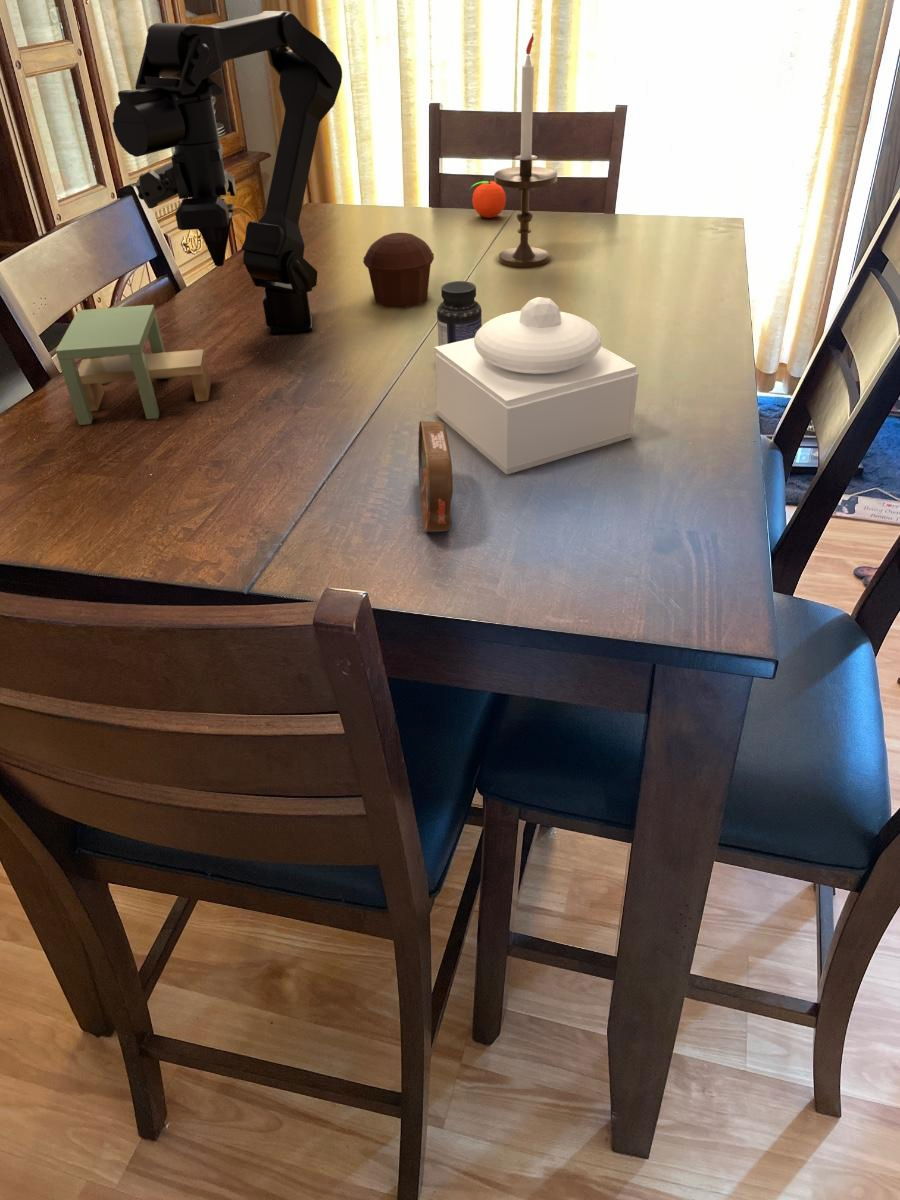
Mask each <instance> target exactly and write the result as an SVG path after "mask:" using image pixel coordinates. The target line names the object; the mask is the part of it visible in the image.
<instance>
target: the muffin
mask: <svg viewBox="0 0 900 1200" xmlns="http://www.w3.org/2000/svg"><path fill="white" fill-rule="evenodd" d="M434 259H435V255H434V253H433V251H432V249H431V247H430V246H429V244H428V243H427V242H426V241H424V240H423V239H421V238H420V237H419V236H417V235H415V234H412V233H409V232H392V233H388V234H385V235H383V236H381V237H379V238H378V239H377V240H375V241H374V242H373V243H371V245H370V246H369V247H368V249H367V251H366V253H365V255H364V257H363V261H362V263H363V265H364V267H366V268H367V270H368V275H369V279H370V284H371V288H372V292H373V296H374V301H375V304H378V305H381V306H383V307H385V308H397V309H405V308H409V307H415V306H419V305H421V304H422V303H424V302H426V301H427V300H428V293H429V284H430V274H431V267H432V266H431V265H432V263H433V261H434Z"/></svg>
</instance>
